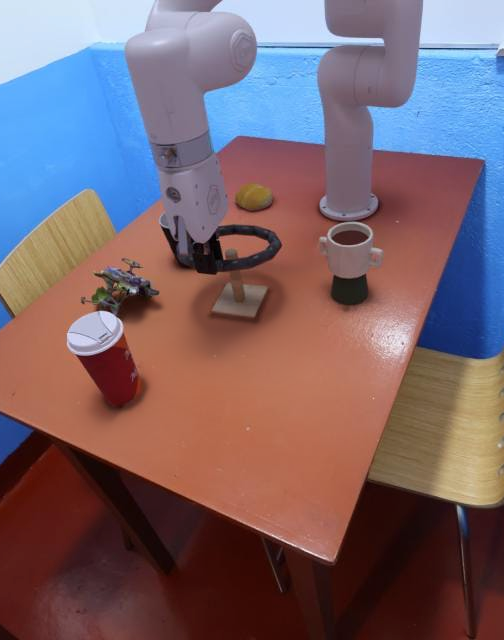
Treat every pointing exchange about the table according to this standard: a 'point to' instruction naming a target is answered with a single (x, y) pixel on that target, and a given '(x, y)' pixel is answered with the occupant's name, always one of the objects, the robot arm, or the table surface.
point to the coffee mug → (170, 239)
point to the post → (239, 294)
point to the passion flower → (120, 286)
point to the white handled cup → (350, 260)
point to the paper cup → (105, 356)
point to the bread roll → (254, 197)
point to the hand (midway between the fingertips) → (210, 267)
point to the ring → (244, 261)
